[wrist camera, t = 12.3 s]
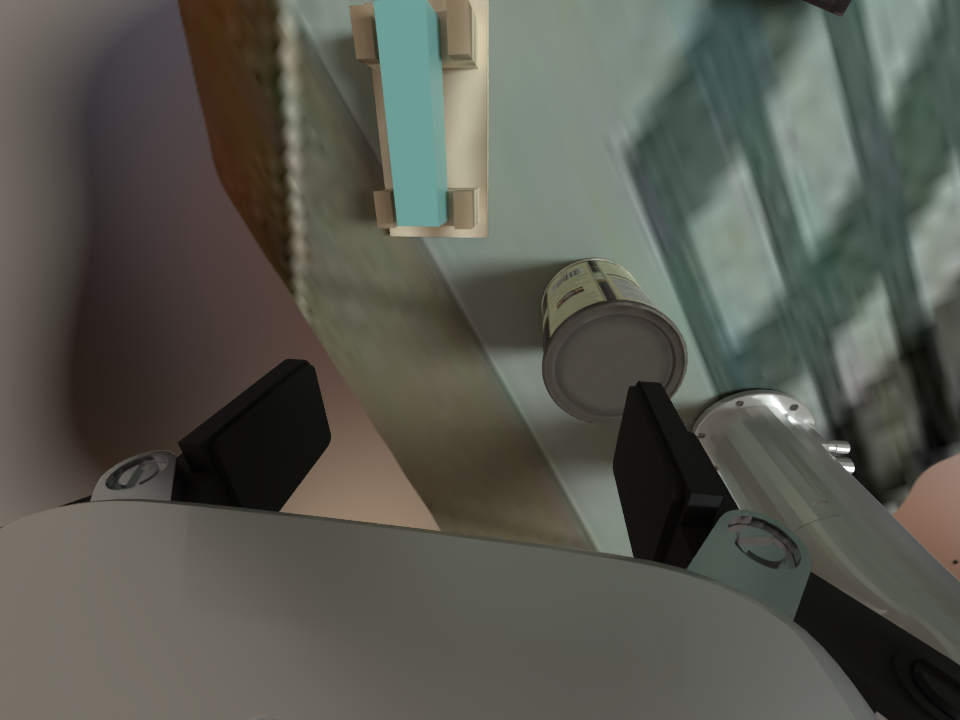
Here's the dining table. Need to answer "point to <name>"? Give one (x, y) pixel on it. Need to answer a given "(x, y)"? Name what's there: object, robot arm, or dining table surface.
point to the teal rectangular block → (414, 109)
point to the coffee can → (605, 341)
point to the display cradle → (464, 112)
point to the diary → (831, 5)
